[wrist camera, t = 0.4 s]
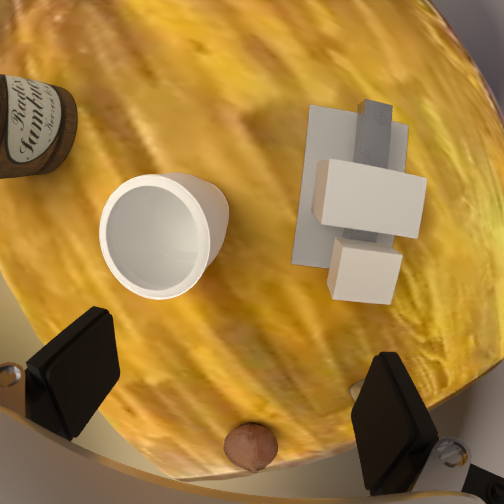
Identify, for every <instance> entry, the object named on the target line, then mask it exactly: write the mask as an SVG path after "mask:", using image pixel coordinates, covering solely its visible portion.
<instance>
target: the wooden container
mask: <svg viewBox="0 0 504 504" xmlns="http://www.w3.org/2000/svg"><path fill="white" fill-rule="evenodd" d="M76 127H77V110H76V105H75V102H74V100H73V98H72V96H71V94H70V93H69V92H68V91H67V90H65V89H63V88H61V87H57V86H54V85H50V84H46V83H43V82H39V81H35V80H31V79H26V78H20V77H14V76H9V75H3V74H0V179H2V178H15V177H23V176H29V175H39V174H46V173H49V172H51V171H53V170H54V169H55V168H57V167H58V166H59V165H60V164H61V163H62V162H63V160H64V159H65V157H66V156H67V154H68V152H69V150H70V148H71V146H72V143H73V140H74V137H75V133H76Z"/></svg>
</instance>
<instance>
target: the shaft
mask: <svg viewBox="0 0 504 504" xmlns="http://www.w3.org/2000/svg"><path fill="white" fill-rule="evenodd" d="M391 123H392V105H388V104H384V103H380V102H376V101H372V100H367V99H365V100H363V101H362V102H361V103H360V104H359V105H358V113H357V126H356V137H355V148H354V157H353V162H354V163H359V164H364V165H369V166H374V167H379V168H384V169H387V168H388V159H389V149H390V137H391ZM377 235H378V232H371V231H365V230H358V229H351V228H344V231H343V237H342V238H345V239H352V240H359V241H367V242H374V243H376V240H377Z"/></svg>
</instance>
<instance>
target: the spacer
mask: <svg viewBox="0 0 504 504" xmlns="http://www.w3.org/2000/svg"><path fill="white" fill-rule="evenodd" d="M402 257H403V255H402V254H400V253H399V252H398V251H396V250H395V249H394V248H392V247H391V246H390V245H387V244H380V243H374V242H367V241H359V240H352V239H345V238H338V237H335V240H334V246H333V252H332V257H331V263H330V268H329V274H328V279H327V286H328V288H329V291H330V294H331V297H332V299H335V300H345V301H355V302H366V303H377V304H388V305H390V304H391V300H392V297H393V293H394V289H395V286H396V282H397V278H398V274H399V270H400V266H401V261H402Z"/></svg>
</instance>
